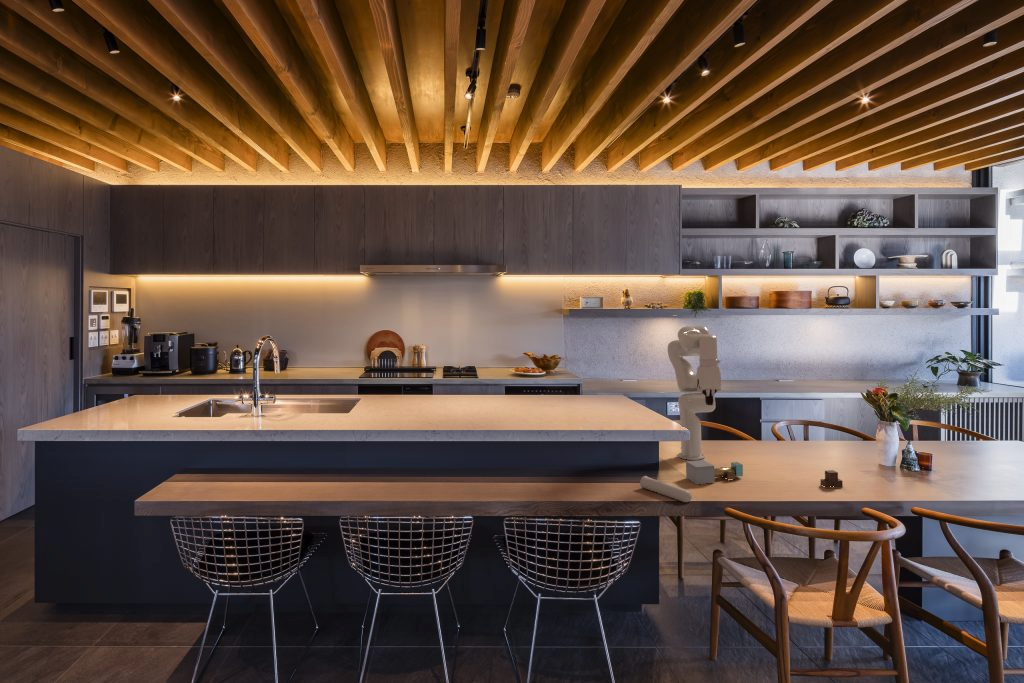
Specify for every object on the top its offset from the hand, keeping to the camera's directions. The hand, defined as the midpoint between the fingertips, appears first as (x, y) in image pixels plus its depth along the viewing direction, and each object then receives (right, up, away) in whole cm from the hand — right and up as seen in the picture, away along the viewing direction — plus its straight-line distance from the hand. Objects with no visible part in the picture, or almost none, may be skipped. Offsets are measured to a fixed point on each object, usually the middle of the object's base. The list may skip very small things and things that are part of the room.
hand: (709, 404), depth 268 cm
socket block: (-6, -32, -7) cm, 33 cm away
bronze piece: (+3, -30, -6) cm, 31 cm away
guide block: (+6, -31, -6) cm, 32 cm away
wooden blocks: (+42, -32, -24) cm, 58 cm away
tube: (-25, -34, -24) cm, 49 cm away
